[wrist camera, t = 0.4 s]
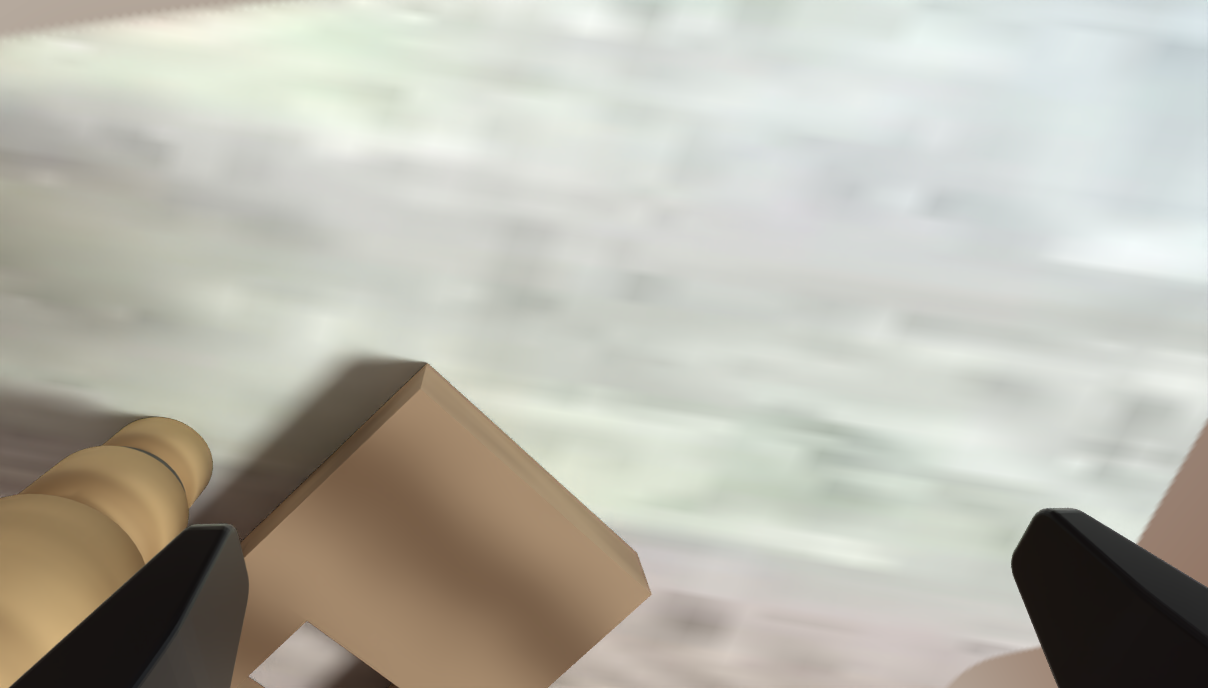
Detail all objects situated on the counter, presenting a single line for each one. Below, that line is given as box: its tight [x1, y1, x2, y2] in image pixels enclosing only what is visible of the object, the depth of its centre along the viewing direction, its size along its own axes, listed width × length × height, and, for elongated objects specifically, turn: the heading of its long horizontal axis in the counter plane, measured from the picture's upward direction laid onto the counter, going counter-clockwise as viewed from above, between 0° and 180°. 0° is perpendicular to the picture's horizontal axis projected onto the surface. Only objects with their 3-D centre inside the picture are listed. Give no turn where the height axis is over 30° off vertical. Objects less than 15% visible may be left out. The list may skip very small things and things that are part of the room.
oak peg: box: [0, 417, 213, 688], centre depth 17 cm, size 4×4×14 cm
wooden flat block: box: [230, 363, 652, 688], centre depth 25 cm, size 20×10×2 cm, turn 133°
